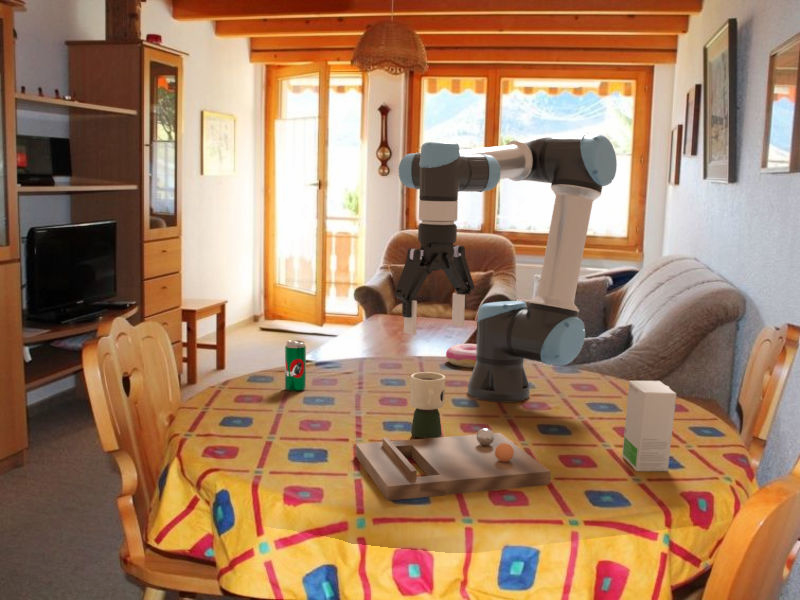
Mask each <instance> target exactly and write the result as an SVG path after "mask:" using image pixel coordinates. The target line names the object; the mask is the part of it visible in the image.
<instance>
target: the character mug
mask: <svg viewBox="0 0 800 600" xmlns="http://www.w3.org/2000/svg"><path fill="white" fill-rule="evenodd" d="M409 388H410V394H409V395H410V396H409V404H410V406H411V407H412V408H415V410H414V411H413V418H412V424H411V429H410V430H411V432H410V434H411V436H413V437H415V438H421V439H426V438H439V437H442V424H441V423H442V422H441V414H440V411H439V409H440V408H442V407H444V406H445V398H446V397H445V394H446V376H445V375H444V374H442V373H438V372H429V371H421V372H415V373H412V374H411V375H410V387H409Z"/></svg>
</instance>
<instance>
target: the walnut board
mask: <svg viewBox="0 0 800 600" xmlns="http://www.w3.org/2000/svg"><path fill="white" fill-rule="evenodd" d="M493 434H494V441H493V442H492V444H490V445H488V446H483V445H481V444H479V442H478V441H477V434H467V435H454V436H453V435H451V436H440V437H438V438H418V439H417V438H416V439H401V440H390V438H388V437H382V441H377V442H376V441H375V442H363V443H362V442H361V443H355V457H356V459H357V460H358V461H359V463H360V464H361V466H362V468H364V470H365V471H366V473H367V474H368V475H369V477H370V478H371V480H372V481H373V482H374V484H375V486H376V487H377V488H378V489H379V491H380V492H381V493H382V495H383V496H384V498H385V499H386V500H387V501H399V500H408V499H417V498H418V499H419V498H429V497H430V498H431V497H436V496H449V495H450V496H451V495H459V494H460V495H461V494H468V493H478V492H480V493H481V492H486V491H487V492H488V491H490V492H491V491H499V490H508V489H519V488H526V487H527V488H529V487H539V486H548V485H550V483H551V482H550V481H551V479H550V478H551V470H549V469H548V468H547V467H545V466H544V465H542V463H540V461H537V460H536V459H535V458H534V457H532V456H531V455H530V454H528V453H527V452H526V451H524V450H523V449H522V448H521V447H519V446H518V445H517V444H516V443H514V442H513V441H512V440H510V439H509V438H508V437H506V436H505V435H503V434H502V433H501V432H493ZM502 443H507V444H509V445H511V446H512V448H513V450H514V455H513V458H512V459H511V460H510V461H508V462H502V461H500V460H498V459H497V457H496V455H495V450H496V447H497V446H498V445H499V444H502ZM409 458H411V459H413V461H414V462H415V463H416V464H417V465H418V466H419V467H420V469H422V471H423V472H424V473H425V475H422V476H418V475H417V473H418V471H417V469H416V468H415V467H414V466H413V465H412V464H411V463H410V461H409V460H408V459H409Z"/></svg>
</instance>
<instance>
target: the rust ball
mask: <svg viewBox="0 0 800 600" xmlns="http://www.w3.org/2000/svg"><path fill="white" fill-rule="evenodd" d="M495 455H496V457H497V459H498V460H500V461H502V462H508V461H510V460H511V459H512V458H513V455H514V450H513V448H512V446H511V445H509V444H507V443H502V444H499V445H498V446H497V447H496V450H495Z"/></svg>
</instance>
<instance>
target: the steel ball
mask: <svg viewBox="0 0 800 600" xmlns="http://www.w3.org/2000/svg"><path fill="white" fill-rule="evenodd" d="M493 433H494V432H493V430H492V429H490V428H488V427H483V428H481V429H479V430H478V431H477V433H476V435H477V441H478V442H479V444H481V445H483V446H488V445H490V444H492V442H493V441H494V434H493Z"/></svg>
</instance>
